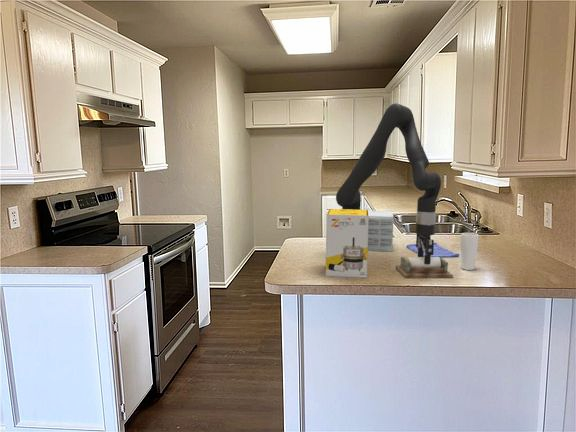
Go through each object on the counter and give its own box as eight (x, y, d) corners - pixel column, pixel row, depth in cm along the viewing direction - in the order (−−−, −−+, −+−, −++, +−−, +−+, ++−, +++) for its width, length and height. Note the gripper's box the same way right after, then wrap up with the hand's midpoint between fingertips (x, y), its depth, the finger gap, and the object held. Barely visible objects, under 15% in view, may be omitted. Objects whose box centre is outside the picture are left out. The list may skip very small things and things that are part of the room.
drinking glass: (475, 271, 173) (477, 236, 171) (457, 269, 176) (460, 234, 174) (477, 268, 179) (480, 233, 176) (460, 265, 182) (462, 232, 180)
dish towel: (436, 247, 220) (436, 242, 220) (460, 258, 197) (461, 252, 196) (405, 248, 218) (405, 243, 217) (426, 260, 194) (426, 254, 194)
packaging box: (325, 276, 168) (326, 214, 164) (328, 265, 184) (329, 209, 180) (366, 278, 165) (368, 215, 161) (366, 266, 181) (367, 209, 177)
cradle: (404, 278, 164) (405, 264, 164) (395, 268, 178) (396, 255, 177) (452, 278, 165) (453, 264, 164) (439, 268, 178) (440, 255, 178)
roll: (409, 272, 169) (410, 258, 168) (406, 268, 174) (406, 255, 173) (441, 272, 168) (441, 258, 168) (436, 268, 174) (437, 255, 173)
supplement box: (366, 243, 227) (367, 210, 224) (391, 244, 224) (392, 211, 221) (365, 251, 210) (366, 215, 207) (392, 252, 207) (394, 216, 204)
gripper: (411, 219, 175) (409, 257, 178) (422, 225, 161) (420, 266, 164) (428, 219, 175) (427, 257, 178) (441, 225, 161) (439, 266, 164)
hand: (423, 261), depth 171 cm, fingers open, 8 cm apart
